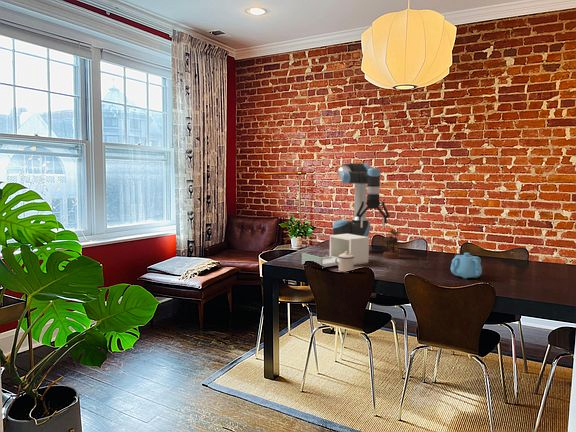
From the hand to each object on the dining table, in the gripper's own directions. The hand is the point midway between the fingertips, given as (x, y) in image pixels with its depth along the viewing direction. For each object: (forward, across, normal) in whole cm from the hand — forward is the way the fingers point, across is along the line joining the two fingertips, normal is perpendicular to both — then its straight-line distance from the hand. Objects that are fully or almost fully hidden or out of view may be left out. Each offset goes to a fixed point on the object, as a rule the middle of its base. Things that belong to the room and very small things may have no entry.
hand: (372, 228), depth 267 cm
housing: (+24, -16, +9) cm, 30 cm away
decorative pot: (+24, +54, -6) cm, 60 cm away
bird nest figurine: (+24, +7, +33) cm, 41 cm away
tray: (+24, -27, -8) cm, 37 cm away
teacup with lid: (+24, -14, -18) cm, 33 cm away
